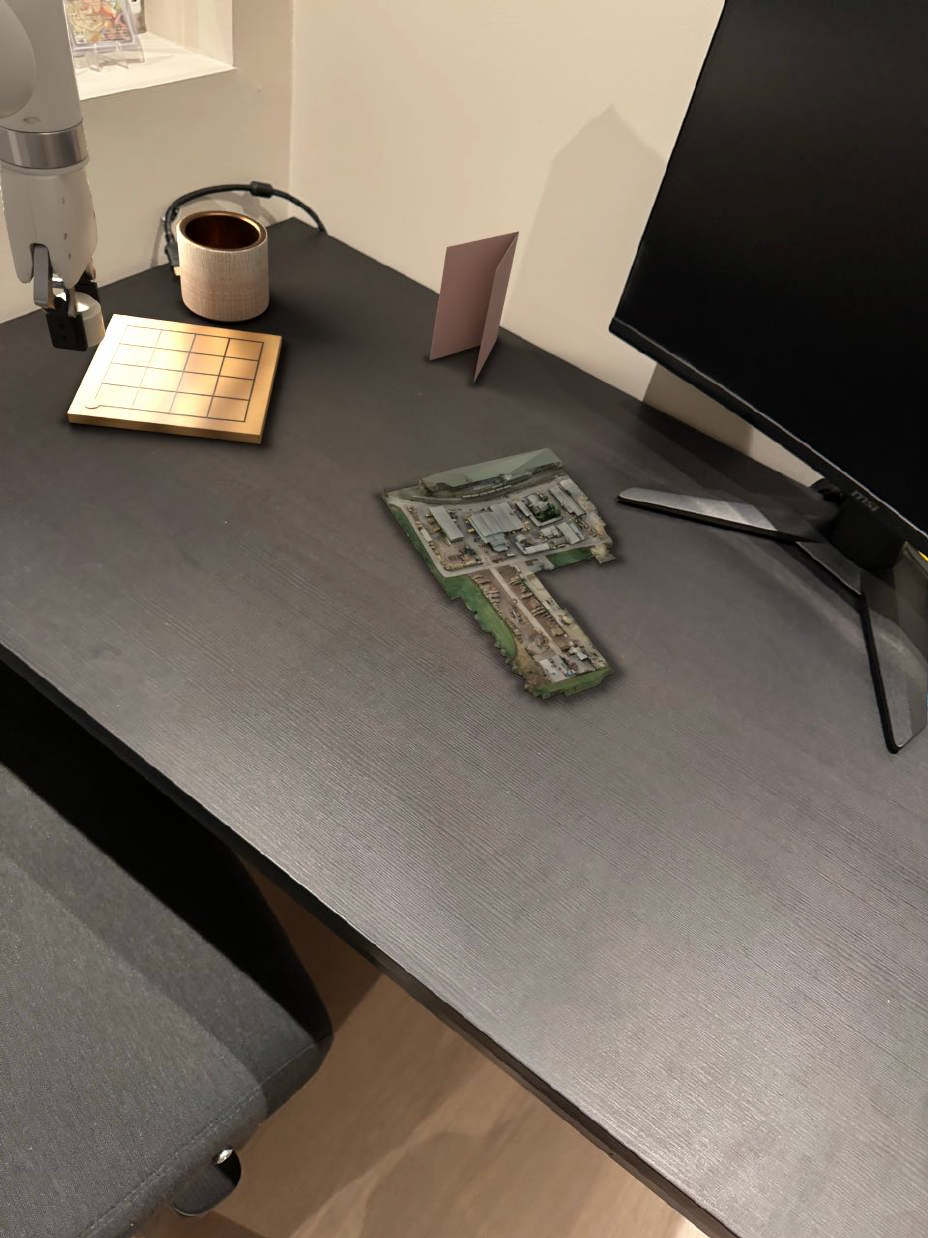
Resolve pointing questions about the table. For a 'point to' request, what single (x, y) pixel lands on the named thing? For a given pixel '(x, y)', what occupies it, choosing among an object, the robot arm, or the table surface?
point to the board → (179, 380)
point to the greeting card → (473, 296)
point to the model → (511, 558)
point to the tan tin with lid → (90, 317)
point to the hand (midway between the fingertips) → (78, 331)
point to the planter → (223, 265)
